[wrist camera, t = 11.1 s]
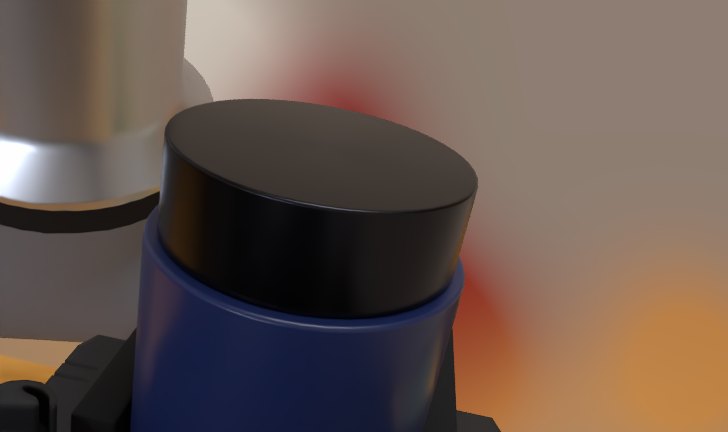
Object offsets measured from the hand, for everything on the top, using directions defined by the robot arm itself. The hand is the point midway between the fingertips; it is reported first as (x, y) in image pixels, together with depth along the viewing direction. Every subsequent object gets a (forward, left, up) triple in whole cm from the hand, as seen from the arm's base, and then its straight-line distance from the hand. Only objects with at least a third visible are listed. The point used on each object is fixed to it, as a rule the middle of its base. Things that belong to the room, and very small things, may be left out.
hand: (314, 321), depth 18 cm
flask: (0, -5, -11) cm, 13 cm away
